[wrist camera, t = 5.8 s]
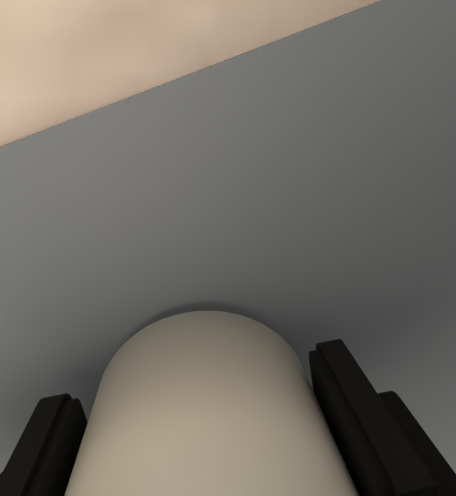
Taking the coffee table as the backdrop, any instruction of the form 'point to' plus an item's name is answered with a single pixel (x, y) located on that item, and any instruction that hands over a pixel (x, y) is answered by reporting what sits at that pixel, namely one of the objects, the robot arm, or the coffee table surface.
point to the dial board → (248, 214)
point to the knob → (207, 417)
